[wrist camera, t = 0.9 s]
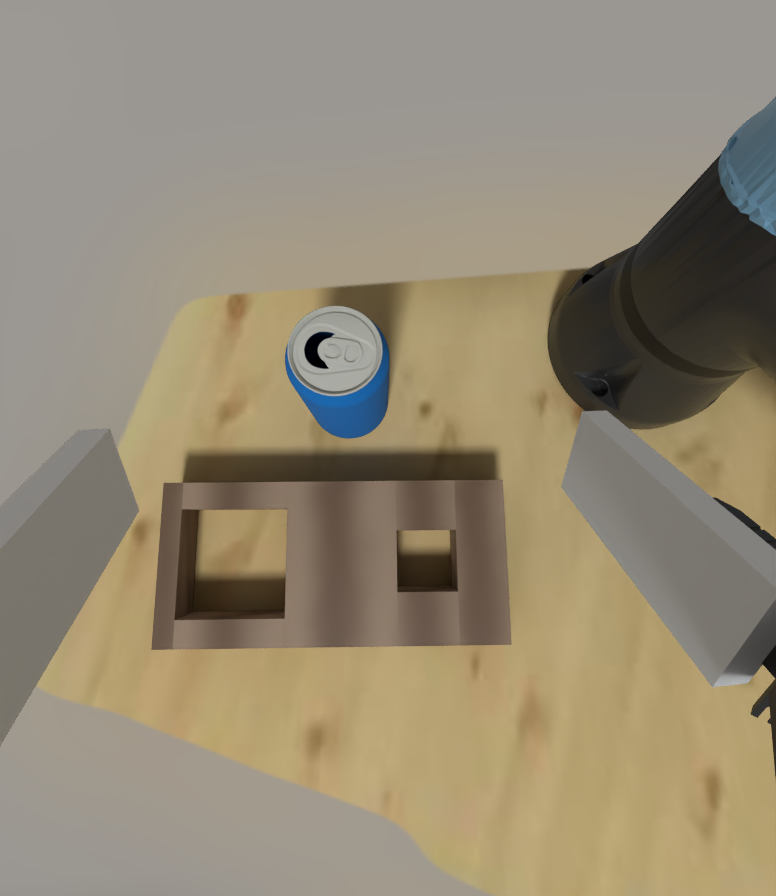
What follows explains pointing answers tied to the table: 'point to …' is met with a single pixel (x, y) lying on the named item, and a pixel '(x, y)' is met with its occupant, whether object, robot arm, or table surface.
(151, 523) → the table surface
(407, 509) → the hole board
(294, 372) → the beverage can
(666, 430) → the table surface
